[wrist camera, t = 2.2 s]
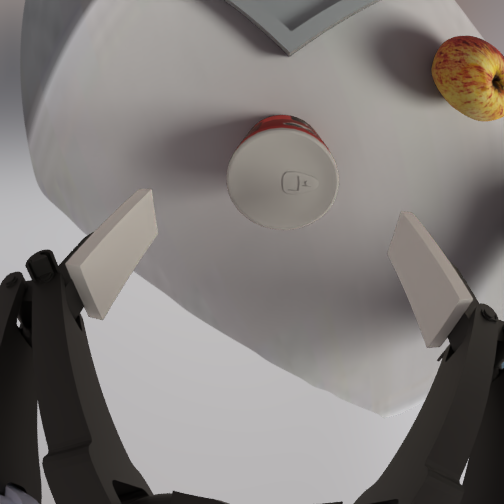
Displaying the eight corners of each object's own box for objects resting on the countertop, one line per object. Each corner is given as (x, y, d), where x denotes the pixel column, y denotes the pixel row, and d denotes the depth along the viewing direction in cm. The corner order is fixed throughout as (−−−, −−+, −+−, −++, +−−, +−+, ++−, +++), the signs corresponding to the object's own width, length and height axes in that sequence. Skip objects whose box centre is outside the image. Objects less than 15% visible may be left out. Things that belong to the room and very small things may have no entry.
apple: (479, 60, 16) (533, 66, 8) (470, 123, 21) (524, 147, 13) (420, 28, 16) (470, 15, 8) (412, 97, 21) (463, 108, 13)
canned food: (327, 172, 28) (348, 218, 19) (258, 189, 30) (246, 241, 21) (309, 105, 24) (325, 116, 15) (235, 126, 26) (209, 149, 17)
